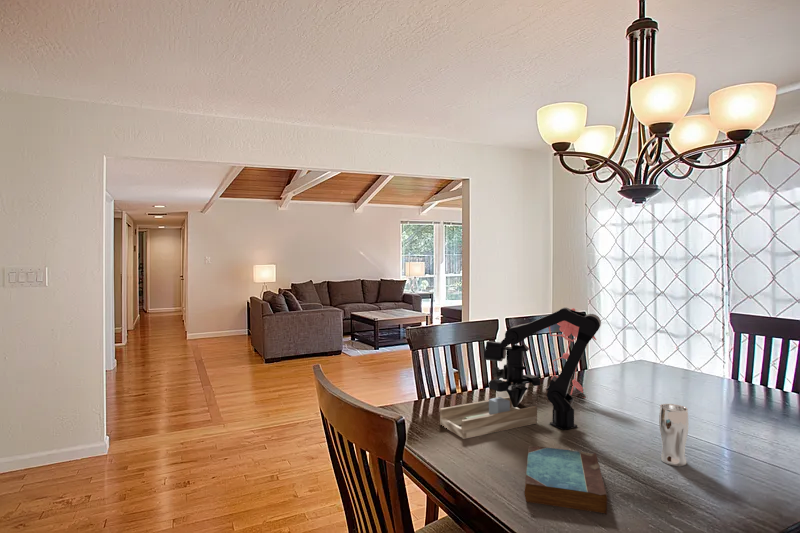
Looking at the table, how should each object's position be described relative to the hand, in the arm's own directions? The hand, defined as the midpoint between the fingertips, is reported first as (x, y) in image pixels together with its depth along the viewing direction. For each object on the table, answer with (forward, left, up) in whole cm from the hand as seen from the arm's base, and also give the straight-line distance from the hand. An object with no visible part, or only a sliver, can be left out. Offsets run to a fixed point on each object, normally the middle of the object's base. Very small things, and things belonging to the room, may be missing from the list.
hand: (514, 407), depth 164 cm
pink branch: (+17, -45, -4) cm, 48 cm away
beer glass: (-47, -16, -4) cm, 50 cm away
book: (-43, +21, -5) cm, 48 cm away
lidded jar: (+14, -10, -4) cm, 18 cm away
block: (0, +7, -2) cm, 7 cm away
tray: (0, +11, -4) cm, 12 cm away
